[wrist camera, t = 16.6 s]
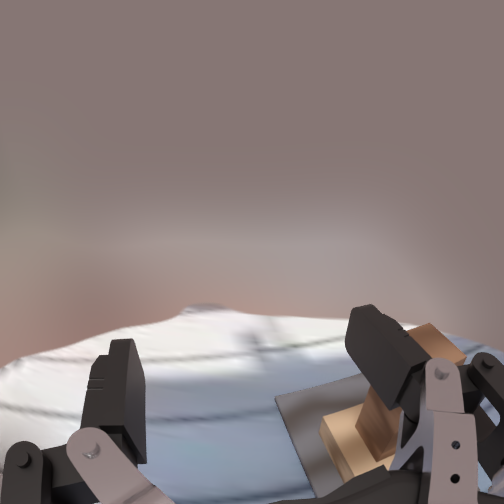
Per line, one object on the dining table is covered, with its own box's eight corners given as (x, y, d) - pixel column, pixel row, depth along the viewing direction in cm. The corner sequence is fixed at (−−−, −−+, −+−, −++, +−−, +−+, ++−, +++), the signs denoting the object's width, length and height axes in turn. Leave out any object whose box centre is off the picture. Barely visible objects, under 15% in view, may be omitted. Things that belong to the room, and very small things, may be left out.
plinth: (477, 492, 16) (496, 475, 15) (349, 569, 13) (361, 564, 11) (382, 368, 38) (388, 347, 36) (274, 399, 34) (275, 378, 33)
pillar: (417, 442, 22) (466, 356, 17) (376, 462, 21) (422, 379, 16) (394, 410, 26) (429, 322, 22) (354, 426, 25) (384, 337, 21)
